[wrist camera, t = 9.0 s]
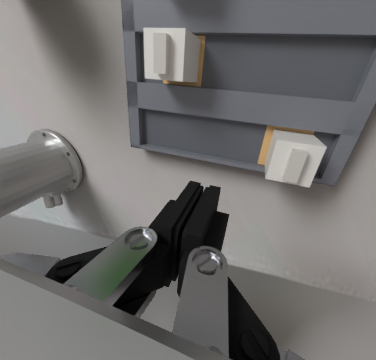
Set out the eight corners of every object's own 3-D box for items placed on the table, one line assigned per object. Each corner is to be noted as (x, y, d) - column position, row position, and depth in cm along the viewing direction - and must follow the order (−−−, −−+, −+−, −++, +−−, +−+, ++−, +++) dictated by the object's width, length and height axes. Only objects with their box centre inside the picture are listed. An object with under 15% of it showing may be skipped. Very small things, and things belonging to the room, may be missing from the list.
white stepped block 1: (197, 82, 22) (179, 81, 17) (165, 79, 23) (140, 78, 18) (200, 39, 20) (182, 25, 15) (166, 39, 21) (138, 25, 16)
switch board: (327, 176, 23) (334, 186, 21) (140, 142, 30) (130, 146, 28) (460, -110, 13) (499, -148, 11) (130, -66, 20) (115, -84, 18)
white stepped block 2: (300, 169, 22) (311, 191, 17) (264, 162, 23) (265, 182, 18) (313, 134, 20) (329, 149, 16) (273, 129, 21) (277, 141, 17)
